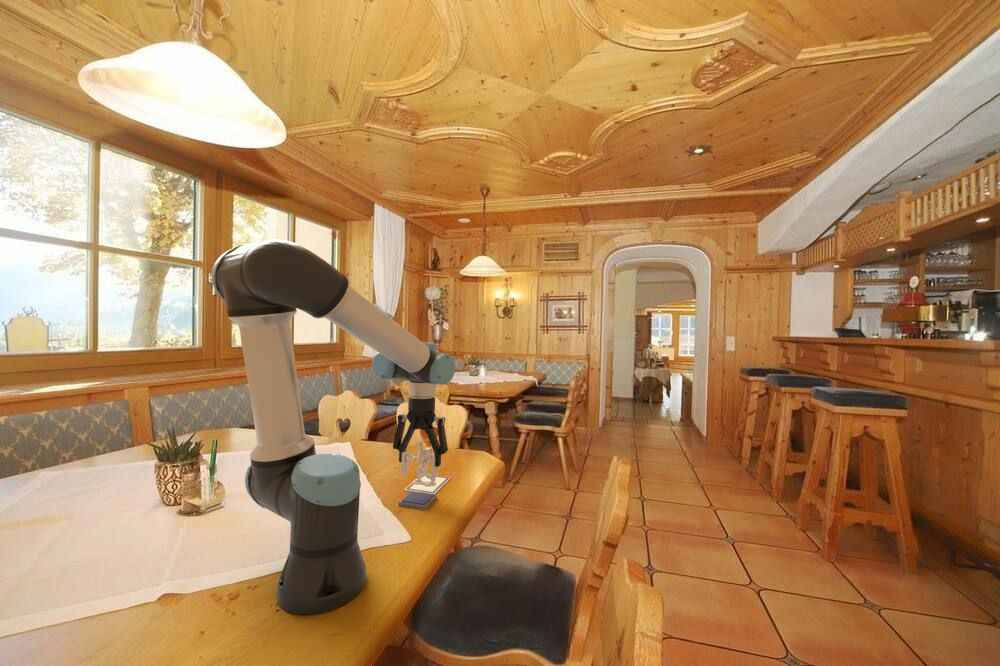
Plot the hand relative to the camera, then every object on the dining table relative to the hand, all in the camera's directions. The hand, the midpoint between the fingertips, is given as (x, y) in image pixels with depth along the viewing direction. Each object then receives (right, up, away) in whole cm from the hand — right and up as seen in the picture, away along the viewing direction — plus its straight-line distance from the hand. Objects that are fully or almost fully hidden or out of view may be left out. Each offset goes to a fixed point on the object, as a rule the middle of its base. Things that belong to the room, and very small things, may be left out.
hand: (419, 475), depth 112 cm
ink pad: (0, -7, 0) cm, 7 cm away
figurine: (0, -3, 0) cm, 3 cm away
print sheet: (0, -8, +13) cm, 15 cm away
